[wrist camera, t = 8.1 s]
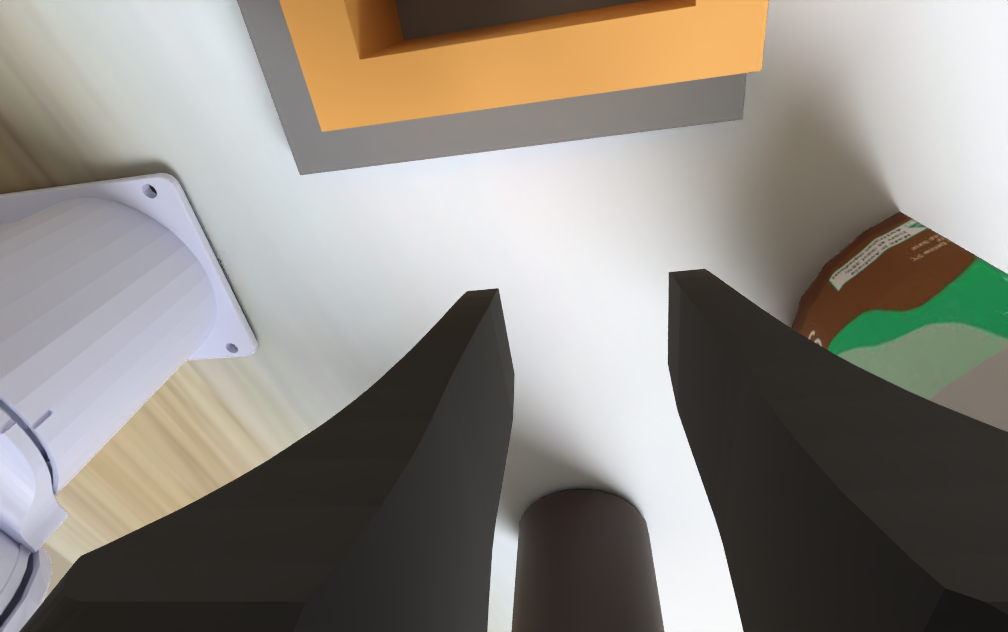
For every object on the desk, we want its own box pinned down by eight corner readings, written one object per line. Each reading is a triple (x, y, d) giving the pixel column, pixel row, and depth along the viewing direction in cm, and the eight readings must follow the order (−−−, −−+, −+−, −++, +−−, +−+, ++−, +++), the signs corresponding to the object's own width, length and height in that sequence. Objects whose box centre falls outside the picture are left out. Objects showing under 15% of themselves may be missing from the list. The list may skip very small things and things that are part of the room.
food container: (704, 267, 19) (815, 492, 11) (887, 175, 17) (1206, 371, 9) (818, 467, 24) (955, 728, 16) (972, 417, 22) (1226, 692, 14)
